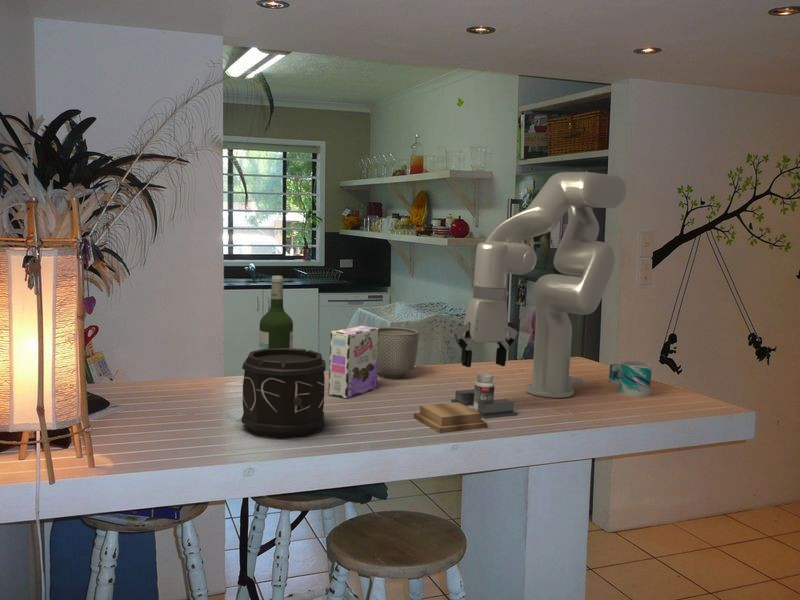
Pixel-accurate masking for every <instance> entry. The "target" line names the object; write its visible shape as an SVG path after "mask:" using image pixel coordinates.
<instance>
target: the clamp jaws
mask: <svg viewBox="0 0 800 600" xmlns="http://www.w3.org/2000/svg"><path fill="white" fill-rule="evenodd" d="M474 390H475V388H474V389H472V388H471V389H460V390H455V393H454V399H453V398H452V399H451V400H450V403H455V402H459V403H461V404H463V405H465V406H474ZM514 404H515V403H514V401H513V400H511V399H509V398H500V399H494V400H486V401H478V410H477V411H478V412H480V413H481V418H484V419H491V418H493V419H495V418H501V417H511V416H512V417H513V416H518V411H515V410H514Z"/></svg>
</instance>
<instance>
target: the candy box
mask: <svg viewBox="0 0 800 600" xmlns="http://www.w3.org/2000/svg"><path fill="white" fill-rule="evenodd" d="M378 337H379V327H371V326H366V325H359V326H354V327H350V328H345V329H344V328H343V329H337V330H331V331H330V347H329V367H328V368H329V374H328V395H329V396H332V397H337V398H342V399H348V398H353V397H355V396H356V397H357V396H358V395H362V394H365V393H368V392H371V391H374V390H377V388H378V387H377V386H378V371H377V366H378Z"/></svg>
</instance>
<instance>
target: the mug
mask: <svg viewBox="0 0 800 600" xmlns="http://www.w3.org/2000/svg"><path fill="white" fill-rule="evenodd" d="M652 369H653V364H651V363H649V362H645V361H640V360H639V361H638V360H625V361H621V362H620V364H618V363H613V364H609V373H608V374H609V375H608V376H609V378H608V382H609V383H611V384H615V385H618V394H620V395H622V396H624V397H625V396H626V397H630V398H639V399H642V398H643V399H644V398H650V394H651V385H652V373H653V370H652Z"/></svg>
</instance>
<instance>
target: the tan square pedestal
mask: <svg viewBox="0 0 800 600" xmlns="http://www.w3.org/2000/svg"><path fill="white" fill-rule="evenodd" d="M413 419H414V420H417V421H419V422H421V424H424V425H426V427H429V428H430V429H432V430H434V431H436V432H437V433H450V432H458V431H466V430H467V431H468V430H475V429H476V430H477V429H486V428H488V422H486V421H484V420H482V417H481V413H480V412H478V410H476V409H474V408H471V407H470V406H468V405H463V404H461V403H459V402H455V403H452V402H447V403H446V402H445V403H436V404H434V403H433V404H423V405H419V412H415V413H413Z"/></svg>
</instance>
